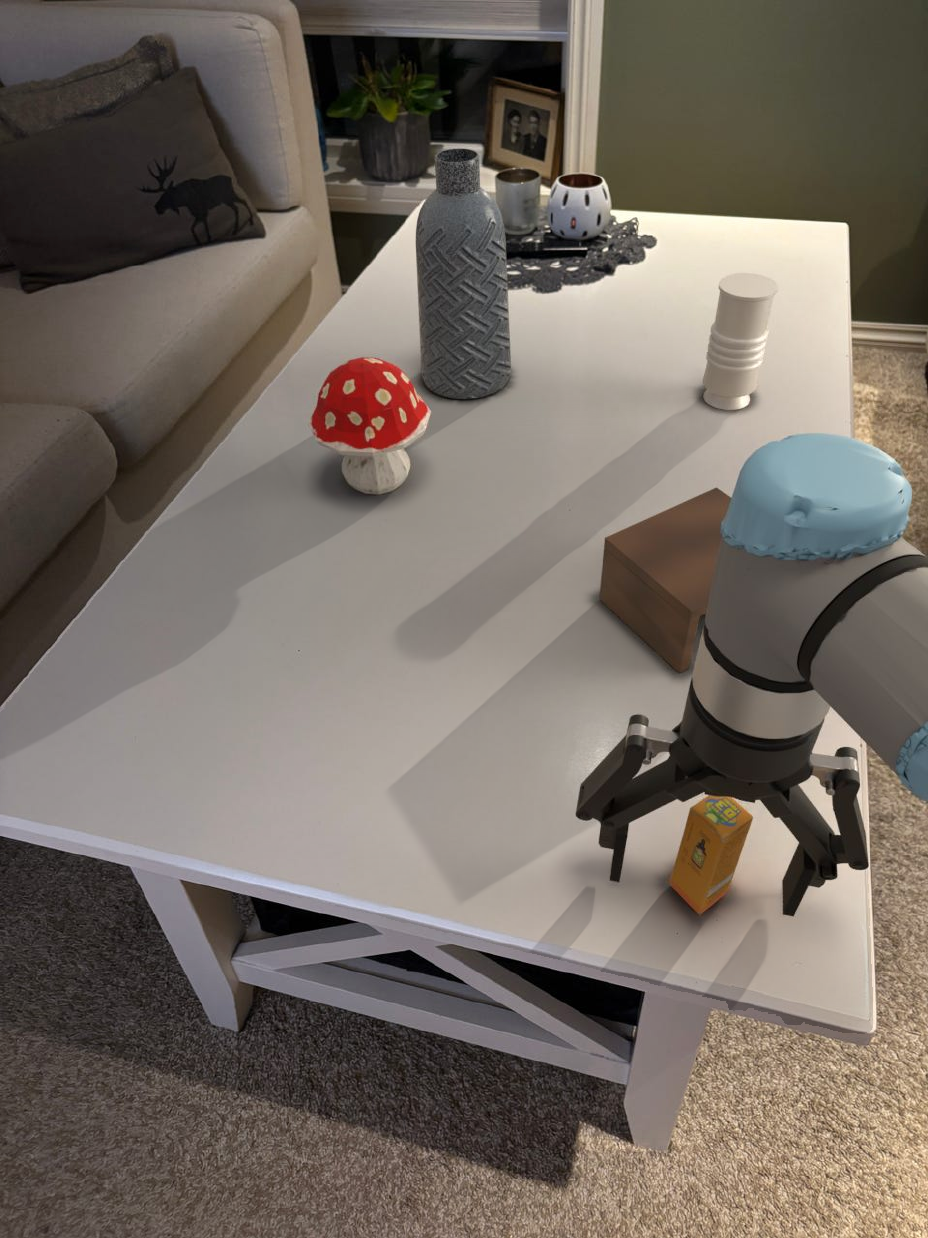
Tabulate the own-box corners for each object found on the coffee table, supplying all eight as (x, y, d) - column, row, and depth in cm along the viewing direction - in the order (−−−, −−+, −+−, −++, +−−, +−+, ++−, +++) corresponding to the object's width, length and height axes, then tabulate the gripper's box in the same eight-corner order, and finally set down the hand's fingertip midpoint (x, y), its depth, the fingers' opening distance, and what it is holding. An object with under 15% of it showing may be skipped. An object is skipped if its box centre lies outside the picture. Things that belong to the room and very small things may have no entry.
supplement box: (731, 892, 65) (758, 818, 58) (698, 917, 64) (721, 845, 57) (699, 859, 67) (721, 784, 60) (666, 883, 66) (684, 809, 59)
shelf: (789, 614, 85) (808, 551, 80) (679, 673, 80) (691, 611, 75) (704, 548, 93) (716, 487, 87) (598, 599, 88) (604, 537, 82)
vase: (414, 399, 116) (393, 172, 97) (431, 354, 125) (415, 138, 105) (505, 403, 115) (502, 174, 95) (515, 357, 123) (515, 138, 103)
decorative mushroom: (441, 508, 99) (433, 390, 89) (319, 521, 99) (296, 404, 88) (430, 440, 109) (421, 327, 99) (319, 452, 108) (298, 339, 98)
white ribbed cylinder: (750, 384, 116) (773, 272, 105) (757, 412, 111) (783, 297, 100) (697, 383, 116) (715, 272, 106) (702, 411, 111) (721, 297, 101)
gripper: (977, 674, 50) (868, 868, 65) (558, 616, 54) (548, 809, 70) (1002, 783, 45) (877, 965, 60) (537, 708, 49) (531, 895, 64)
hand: (700, 882), depth 65 cm, fingers open, 12 cm apart
